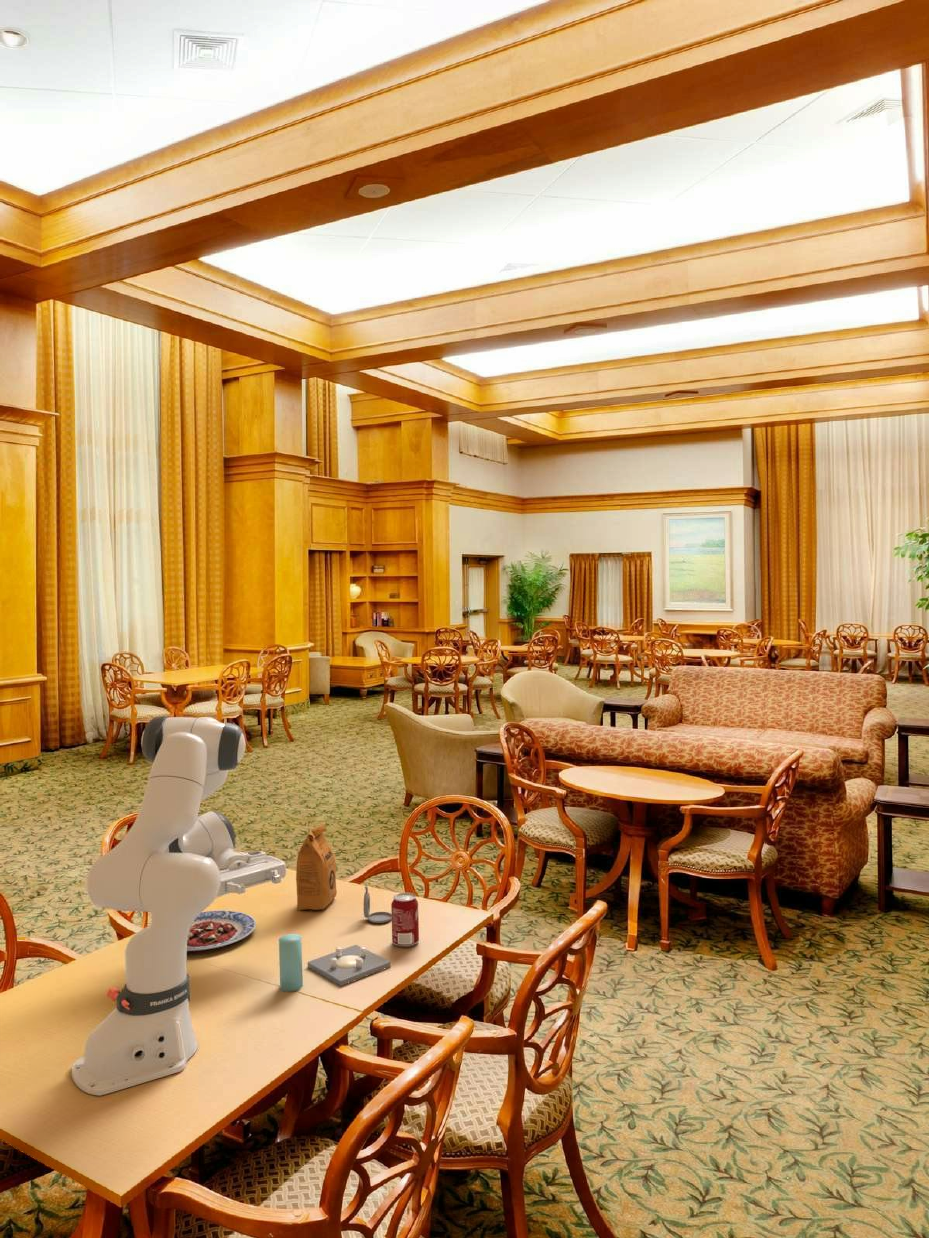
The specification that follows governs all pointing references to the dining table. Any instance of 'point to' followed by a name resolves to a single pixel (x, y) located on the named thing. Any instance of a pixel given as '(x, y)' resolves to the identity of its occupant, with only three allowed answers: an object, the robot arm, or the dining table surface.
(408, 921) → the soda can
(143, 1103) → the dining table surface
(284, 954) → the teal post
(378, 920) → the pocket watch
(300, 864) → the coffee package
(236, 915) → the ceramic plate
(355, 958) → the dowel seat
